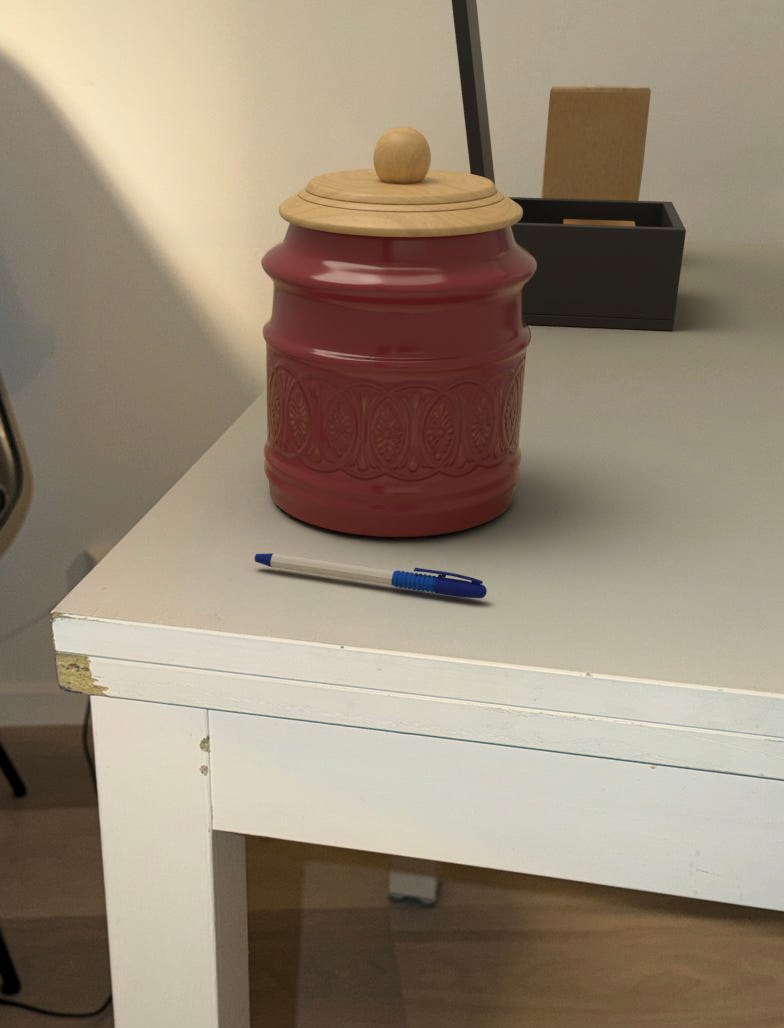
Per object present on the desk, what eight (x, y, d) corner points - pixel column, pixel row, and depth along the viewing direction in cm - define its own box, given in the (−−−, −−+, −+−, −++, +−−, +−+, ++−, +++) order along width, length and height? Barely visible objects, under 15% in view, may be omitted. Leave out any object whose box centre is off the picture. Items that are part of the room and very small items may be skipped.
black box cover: (474, -21, 100) (461, -18, 100) (464, -19, 89) (449, -16, 89) (495, 188, 106) (483, 190, 107) (488, 214, 95) (475, 216, 96)
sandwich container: (625, 236, 130) (643, 73, 123) (632, 268, 117) (653, 86, 110) (538, 233, 132) (551, 72, 125) (535, 264, 118) (550, 85, 111)
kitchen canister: (247, 459, 72) (240, 114, 64) (474, 445, 74) (496, 110, 66) (287, 552, 60) (285, 148, 52) (554, 533, 62) (592, 141, 54)
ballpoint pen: (488, 594, 56) (489, 573, 56) (484, 603, 55) (485, 581, 55) (258, 562, 59) (258, 542, 59) (251, 570, 58) (251, 550, 58)
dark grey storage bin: (660, 293, 108) (672, 201, 105) (672, 331, 97) (686, 229, 94) (483, 286, 110) (488, 196, 107) (475, 322, 99) (481, 223, 96)
